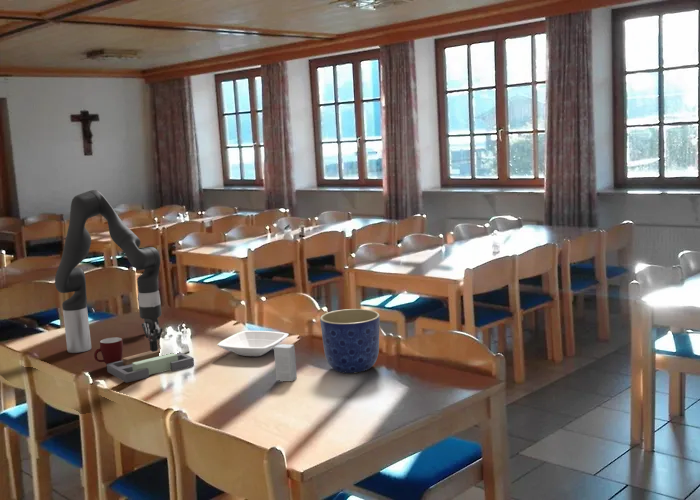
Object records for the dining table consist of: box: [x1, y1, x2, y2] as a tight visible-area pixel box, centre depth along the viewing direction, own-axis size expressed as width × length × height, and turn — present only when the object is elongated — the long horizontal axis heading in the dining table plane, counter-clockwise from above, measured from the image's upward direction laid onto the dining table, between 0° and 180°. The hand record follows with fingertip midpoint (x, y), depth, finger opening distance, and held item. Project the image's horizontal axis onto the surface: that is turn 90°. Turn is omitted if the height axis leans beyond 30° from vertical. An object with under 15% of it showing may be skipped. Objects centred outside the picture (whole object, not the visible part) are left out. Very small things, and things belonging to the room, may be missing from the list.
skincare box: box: [273, 343, 298, 382], centre depth 277 cm, size 6×4×12 cm
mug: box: [93, 336, 124, 366], centre depth 303 cm, size 11×8×10 cm
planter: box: [319, 308, 381, 374], centre depth 285 cm, size 21×21×19 cm
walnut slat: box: [122, 347, 162, 366], centre depth 302 cm, size 4×16×5 cm, turn 134°
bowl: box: [216, 330, 289, 357], centre depth 311 cm, size 22×23×6 cm
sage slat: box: [132, 353, 178, 376], centre depth 295 cm, size 4×16×5 cm, turn 129°
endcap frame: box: [106, 351, 195, 384], centre depth 299 cm, size 18×26×3 cm
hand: (154, 350), depth 294 cm, fingers closed
